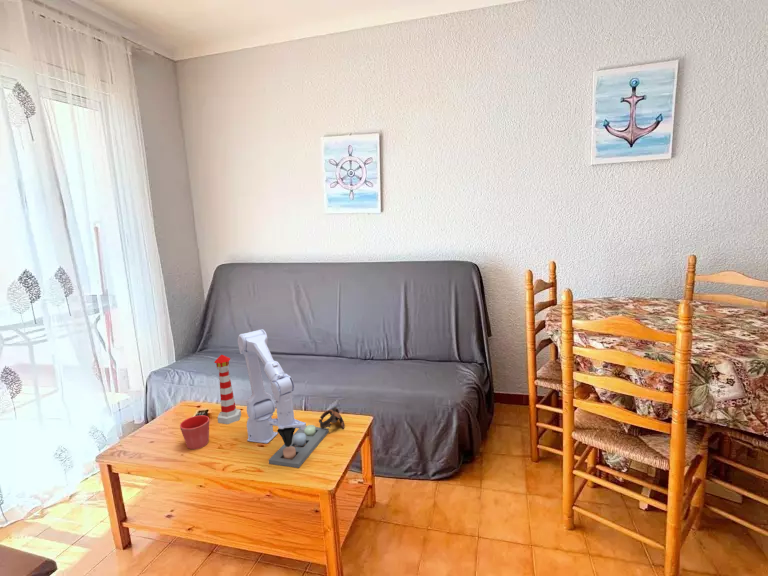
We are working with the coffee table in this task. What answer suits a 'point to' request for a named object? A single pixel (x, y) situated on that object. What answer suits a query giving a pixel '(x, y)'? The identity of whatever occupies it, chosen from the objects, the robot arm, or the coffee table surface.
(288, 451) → the terracotta button
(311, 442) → the grey slotted board
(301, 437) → the slate button
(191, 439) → the flower pot
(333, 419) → the brown curved piece
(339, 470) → the coffee table surface
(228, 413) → the decorative lighthouse
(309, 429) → the sage button
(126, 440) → the coffee table surface
